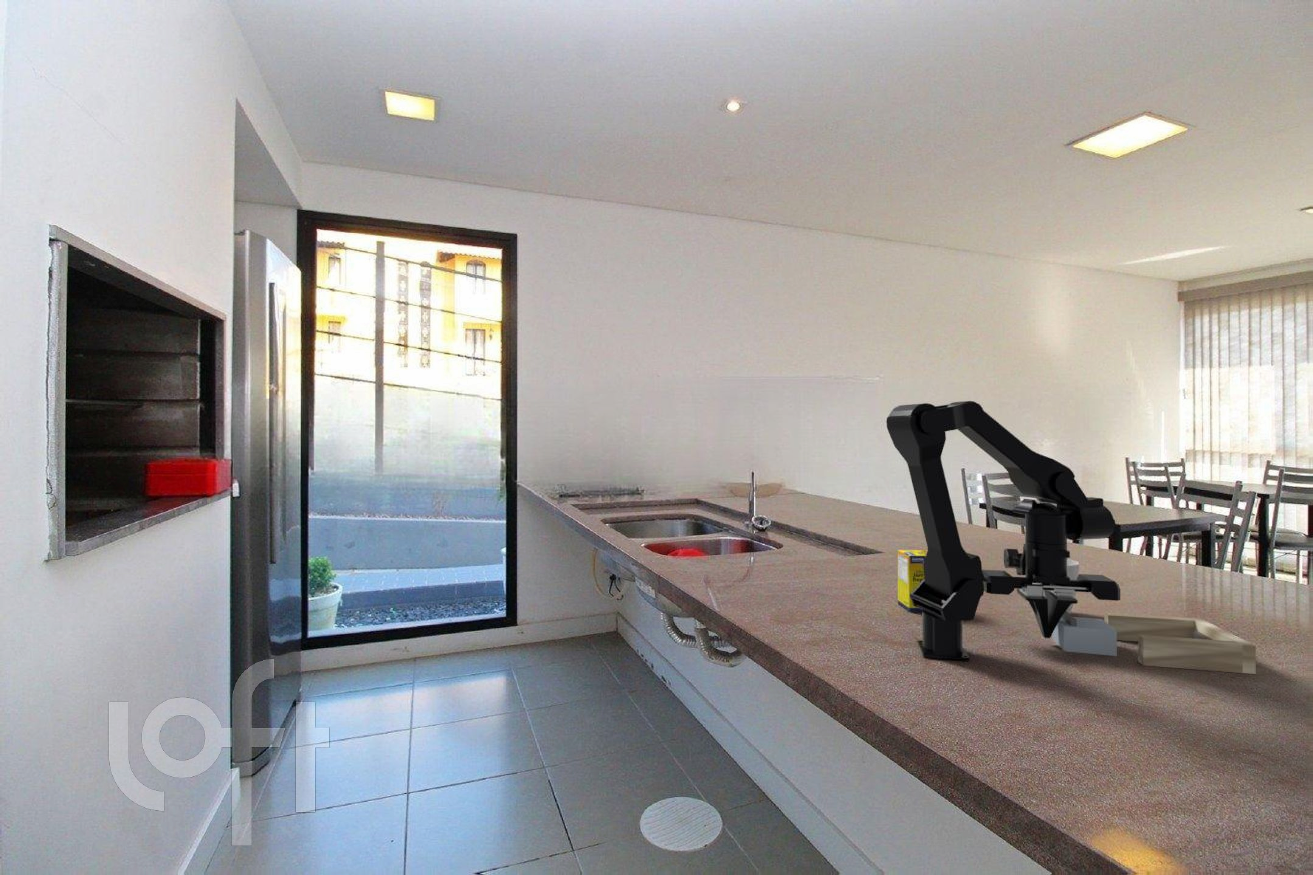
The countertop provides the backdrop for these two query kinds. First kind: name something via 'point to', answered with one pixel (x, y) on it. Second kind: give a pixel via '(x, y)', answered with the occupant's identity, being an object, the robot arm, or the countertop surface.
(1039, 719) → the countertop surface
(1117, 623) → the tray
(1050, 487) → the robot arm
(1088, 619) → the sliding lid
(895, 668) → the countertop surface
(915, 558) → the supplement box
